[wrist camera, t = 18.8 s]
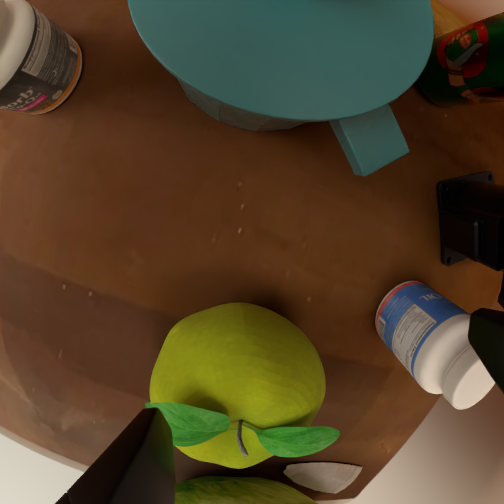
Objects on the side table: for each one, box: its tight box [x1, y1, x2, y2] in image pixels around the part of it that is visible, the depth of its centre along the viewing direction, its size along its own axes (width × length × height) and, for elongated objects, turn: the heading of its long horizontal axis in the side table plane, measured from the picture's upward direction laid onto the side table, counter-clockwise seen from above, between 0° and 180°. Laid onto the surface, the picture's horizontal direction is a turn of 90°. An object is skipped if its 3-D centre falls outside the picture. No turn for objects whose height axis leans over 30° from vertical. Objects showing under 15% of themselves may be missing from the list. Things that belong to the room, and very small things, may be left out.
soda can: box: [416, 12, 504, 108], centre depth 12 cm, size 5×5×12 cm
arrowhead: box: [283, 462, 363, 493], centre depth 27 cm, size 5×1×10 cm
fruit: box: [145, 302, 340, 469], centre depth 16 cm, size 9×9×10 cm
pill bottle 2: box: [375, 281, 495, 410], centre depth 17 cm, size 6×5×10 cm
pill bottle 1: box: [0, 0, 82, 114], centre depth 10 cm, size 6×6×10 cm
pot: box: [176, 78, 410, 177], centre depth 12 cm, size 11×16×8 cm, turn 28°
